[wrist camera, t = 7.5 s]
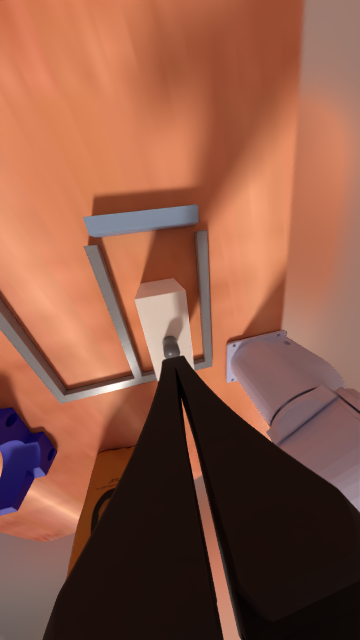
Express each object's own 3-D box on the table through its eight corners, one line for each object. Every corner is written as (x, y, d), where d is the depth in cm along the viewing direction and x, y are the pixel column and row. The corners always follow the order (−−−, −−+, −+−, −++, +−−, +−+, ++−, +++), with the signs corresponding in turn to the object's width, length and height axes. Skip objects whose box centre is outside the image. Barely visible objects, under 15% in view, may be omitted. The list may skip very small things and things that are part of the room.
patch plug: (173, 277, 15) (191, 296, 9) (182, 338, 19) (199, 385, 12) (140, 283, 15) (131, 306, 8) (155, 344, 18) (158, 395, 12)
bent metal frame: (204, 231, 14) (207, 230, 13) (210, 362, 21) (212, 366, 21) (-40, 263, 12) (-53, 264, 11) (63, 398, 19) (60, 403, 18)
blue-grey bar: (192, 209, 13) (198, 204, 12) (193, 225, 14) (198, 221, 12) (90, 221, 12) (83, 217, 11) (96, 237, 13) (89, 235, 11)
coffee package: (148, 440, 27) (141, 926, 8) (146, 471, 32) (141, 811, 13) (90, 449, 25) (-129, 1162, 5) (99, 481, 30) (1, 909, 10)
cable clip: (57, 450, 24) (31, 507, 18) (26, 456, 23) (-11, 518, 18) (27, 404, 19) (-23, 464, 13) (-15, 409, 18) (-85, 476, 13)
